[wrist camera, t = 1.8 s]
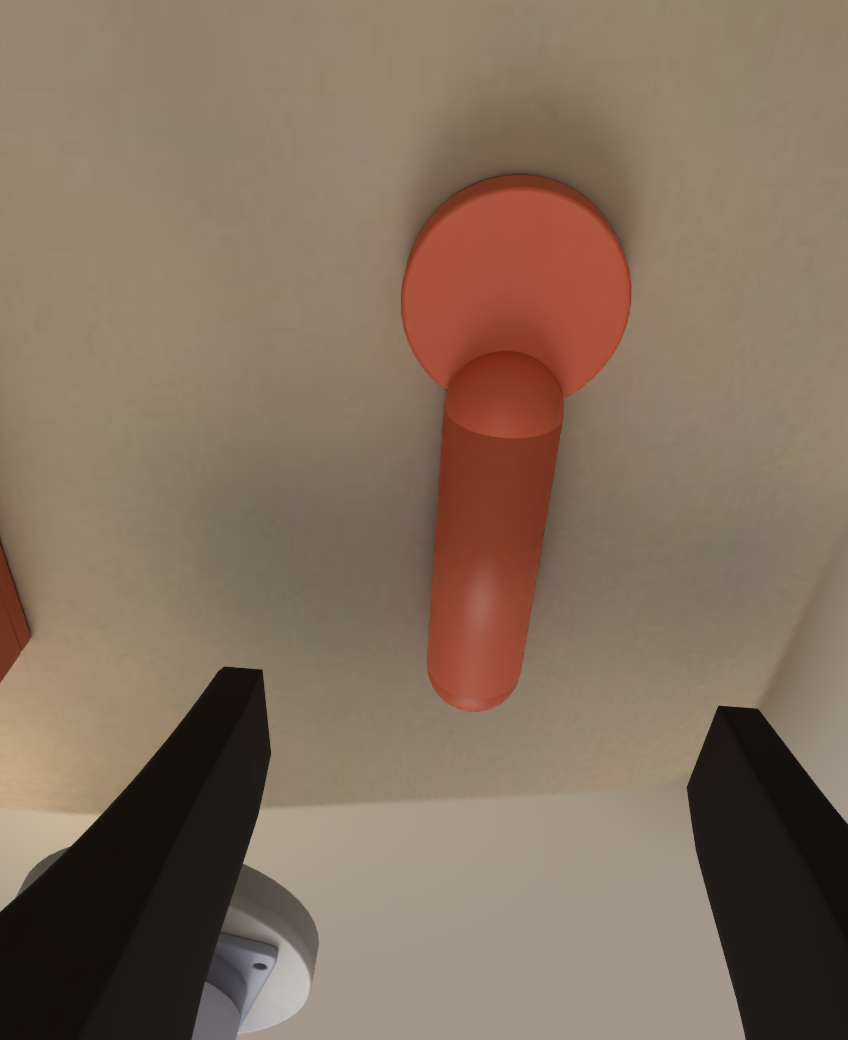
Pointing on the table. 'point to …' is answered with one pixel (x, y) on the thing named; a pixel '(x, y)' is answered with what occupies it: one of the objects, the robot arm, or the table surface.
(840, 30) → the table surface
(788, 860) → the robot arm
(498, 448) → the red spoon
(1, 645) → the red tray
